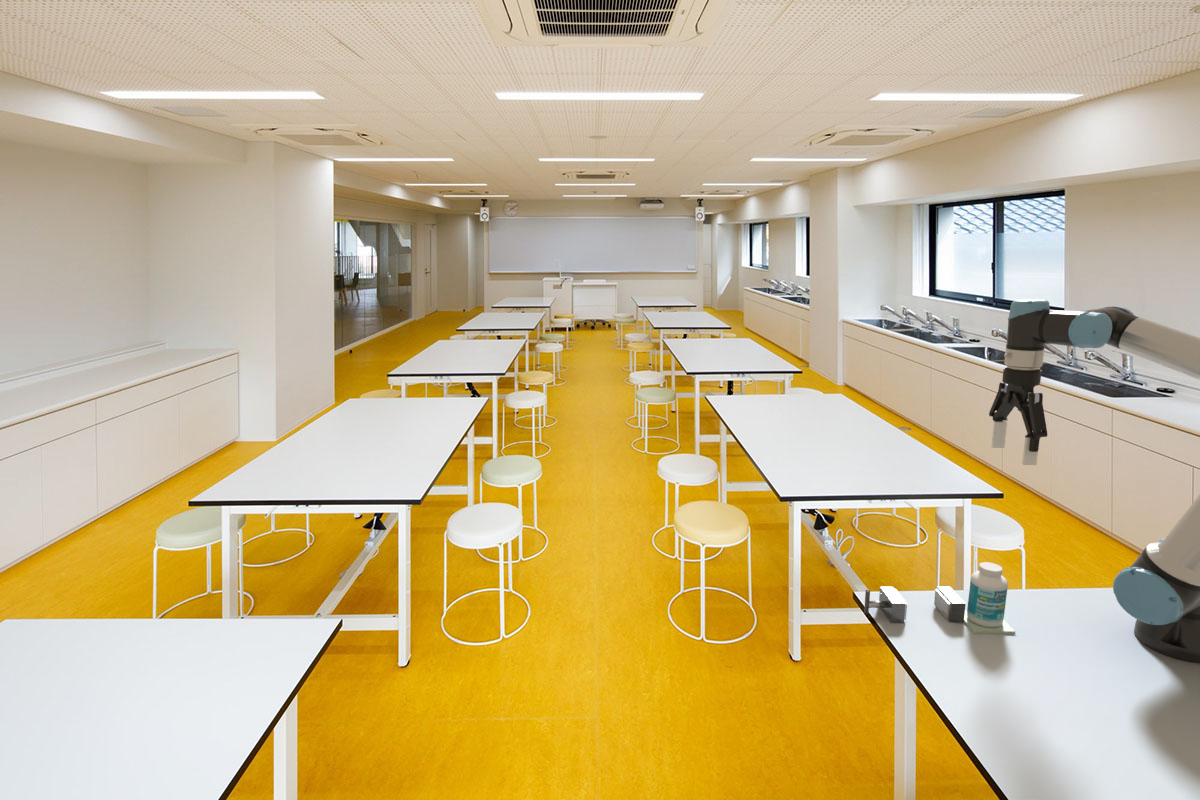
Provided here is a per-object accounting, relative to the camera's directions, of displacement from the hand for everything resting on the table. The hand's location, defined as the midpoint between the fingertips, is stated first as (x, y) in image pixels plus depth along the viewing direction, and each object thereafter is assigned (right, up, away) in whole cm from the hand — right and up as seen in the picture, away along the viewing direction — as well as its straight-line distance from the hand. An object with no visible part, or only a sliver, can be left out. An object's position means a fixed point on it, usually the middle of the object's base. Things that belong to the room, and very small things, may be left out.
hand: (1012, 455), depth 161 cm
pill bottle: (-9, -38, -3) cm, 39 cm away
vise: (-24, -39, +2) cm, 46 cm away
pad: (-9, -39, -3) cm, 40 cm away
